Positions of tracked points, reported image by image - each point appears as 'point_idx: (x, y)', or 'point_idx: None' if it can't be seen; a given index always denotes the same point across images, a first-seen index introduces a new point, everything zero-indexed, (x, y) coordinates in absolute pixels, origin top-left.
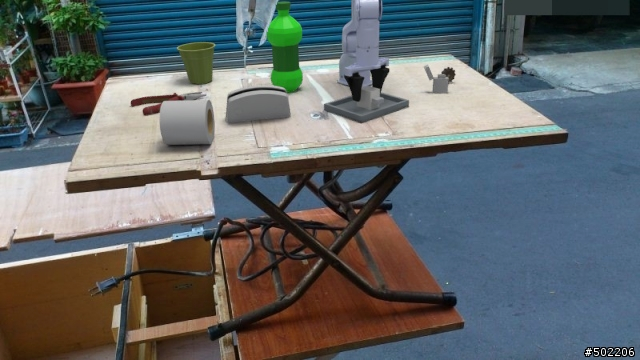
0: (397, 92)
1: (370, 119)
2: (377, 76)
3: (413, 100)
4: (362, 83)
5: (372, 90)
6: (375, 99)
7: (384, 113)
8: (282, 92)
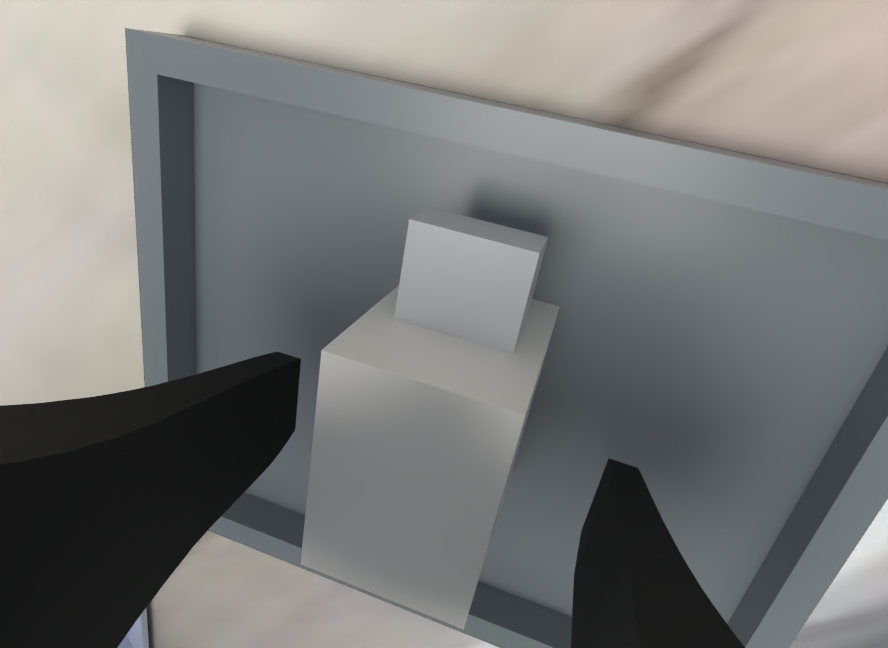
0: (5, 329)
1: (819, 170)
2: (122, 530)
3: (33, 103)
4: (647, 640)
5: (447, 415)
6: (528, 292)
7: (558, 116)
8: None
